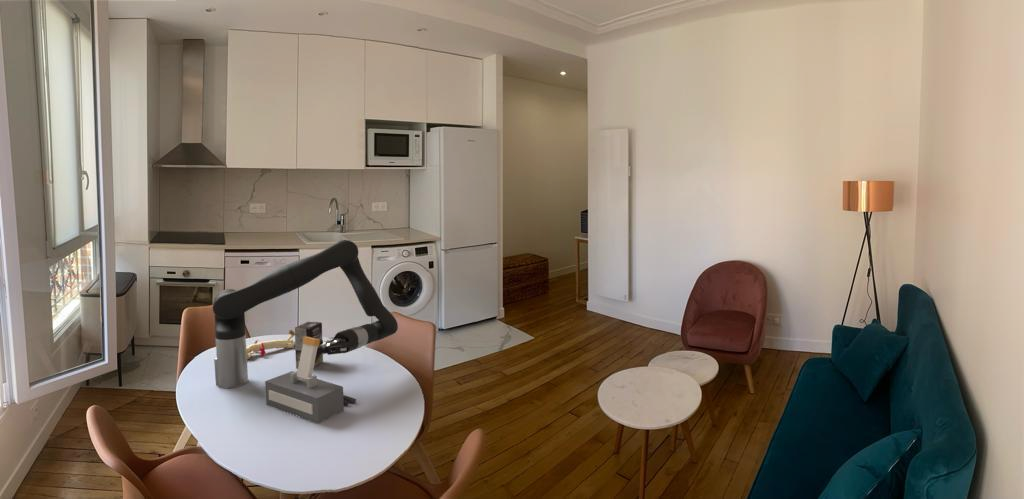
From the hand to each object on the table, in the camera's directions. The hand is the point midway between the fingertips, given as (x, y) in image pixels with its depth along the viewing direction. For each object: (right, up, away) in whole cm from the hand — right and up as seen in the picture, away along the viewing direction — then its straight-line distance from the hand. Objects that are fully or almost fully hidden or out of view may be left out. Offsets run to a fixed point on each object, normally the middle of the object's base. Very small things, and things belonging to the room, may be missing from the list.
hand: (311, 353), depth 166 cm
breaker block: (0, -17, +2) cm, 17 cm away
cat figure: (-37, -10, +48) cm, 62 cm away
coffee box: (-14, -12, +36) cm, 41 cm away
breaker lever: (-2, -8, -2) cm, 8 cm away
